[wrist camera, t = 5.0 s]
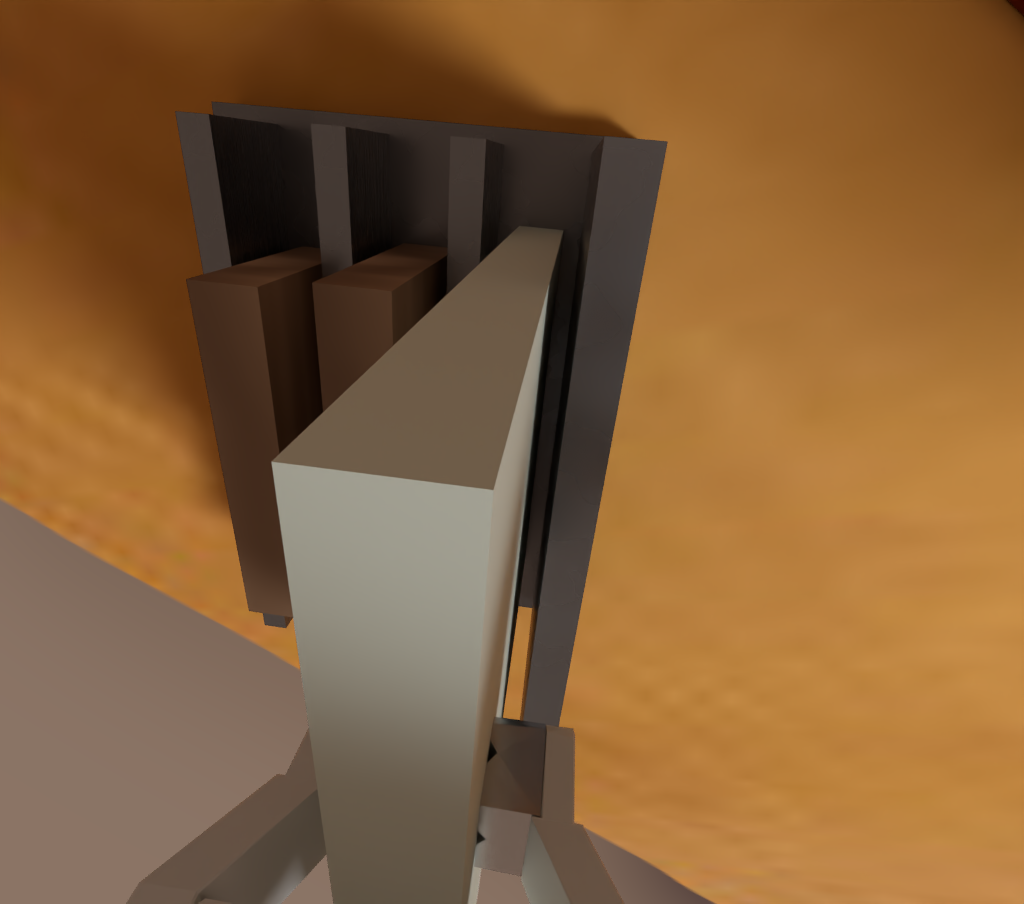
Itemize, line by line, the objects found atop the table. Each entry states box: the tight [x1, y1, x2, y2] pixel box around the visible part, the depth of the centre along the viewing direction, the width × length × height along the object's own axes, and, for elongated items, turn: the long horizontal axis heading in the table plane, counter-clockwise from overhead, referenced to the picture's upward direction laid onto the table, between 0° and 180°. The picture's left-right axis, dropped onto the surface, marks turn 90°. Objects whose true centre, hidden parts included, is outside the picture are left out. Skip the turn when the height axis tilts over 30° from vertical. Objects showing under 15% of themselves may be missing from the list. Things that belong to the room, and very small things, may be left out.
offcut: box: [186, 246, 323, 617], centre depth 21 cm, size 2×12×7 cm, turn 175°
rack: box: [175, 102, 667, 727], centre depth 19 cm, size 15×21×12 cm
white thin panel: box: [271, 226, 564, 904], centre depth 15 cm, size 2×15×18 cm, turn 175°
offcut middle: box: [312, 243, 448, 412], centre depth 20 cm, size 2×13×8 cm, turn 175°
